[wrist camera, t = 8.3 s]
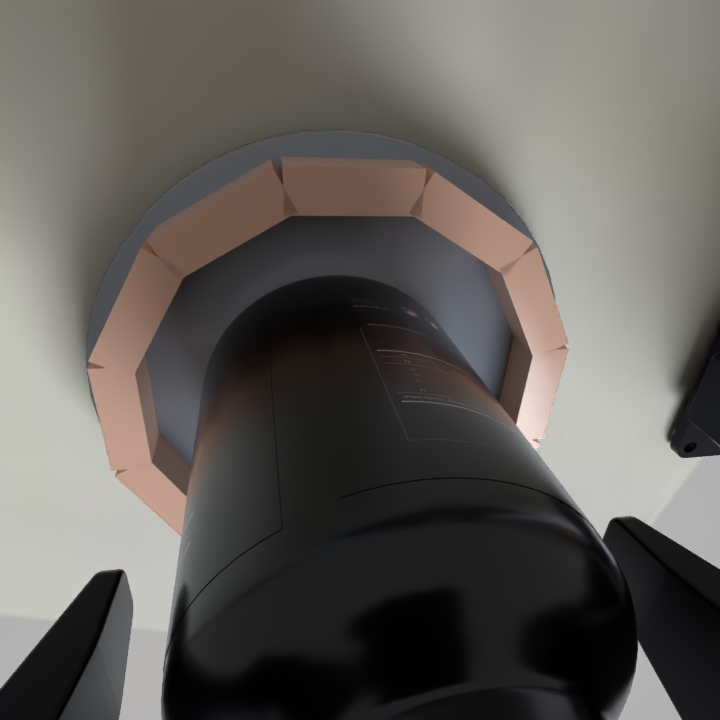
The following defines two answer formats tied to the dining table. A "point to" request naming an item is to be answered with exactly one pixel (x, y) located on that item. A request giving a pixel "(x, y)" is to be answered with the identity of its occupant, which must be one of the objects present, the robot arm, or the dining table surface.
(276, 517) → the supplement bottle
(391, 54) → the dining table surface
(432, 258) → the bottle holder
